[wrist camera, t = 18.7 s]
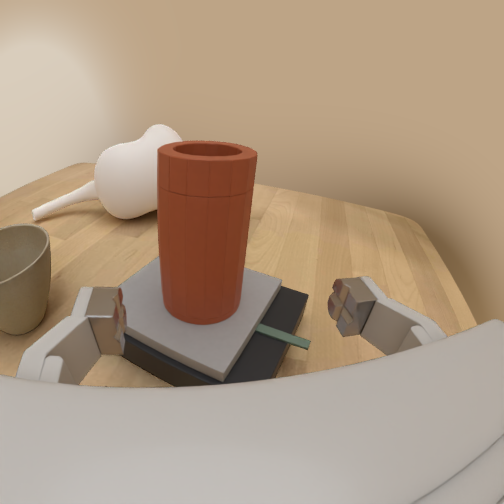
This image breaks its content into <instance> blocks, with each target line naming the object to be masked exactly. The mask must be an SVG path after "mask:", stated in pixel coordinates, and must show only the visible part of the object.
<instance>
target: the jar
mask: <svg viewBox="0 0 504 504" xmlns="http://www.w3.org/2000/svg"><path fill="white" fill-rule="evenodd" d="M256 162H257V152H256V151H254V150H253V149H251V148H249V147H245V146H242V145H238V144H232V143H226V142H214V141H182V142H174V143H169V144H165V145H163V146H161V147H159V148H158V149H157V216H158V243H159V261H160V275H161V288H162V295H163V303H164V306H165V308H166V309H167V311H168V312H169V313H170V314H171V315H172V316H174V317H175V318H177V319H179V320H181V321H184V322H187V323H190V324H197V325H208V324H214V323H218V322H221V321H224V320H226V319H228V318H229V317H231V316H232V315H233V314H234V313H235V312H236V311H237V309H238V307H239V304H240V299H241V291H242V282H243V273H244V264H245V256H246V247H247V239H248V230H249V222H250V213H251V205H252V196H253V187H254V179H255V171H256Z"/></svg>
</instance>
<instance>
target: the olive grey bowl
mask: <svg viewBox="0 0 504 504" xmlns="http://www.w3.org/2000/svg"><path fill="white" fill-rule="evenodd" d="M50 279H51V252H50V241H49V235H48V233H47V231H46V230H45V229H44V228H42V227H40V226H38V225H34V224H15V225H10V226H6V227H2V228H0V330H2V331H4V332H6V333H9V334H12V335H21V334H25V333H28V332H30V331H31V330H33V329H34V328H35V327H37V326H38V325H39V323H40V322H41V321H42V319H43V317H44V314H45V310H46V306H47V302H48V296H49V290H50Z"/></svg>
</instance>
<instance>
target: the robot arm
mask: <svg viewBox="0 0 504 504" xmlns="http://www.w3.org/2000/svg"><path fill="white" fill-rule="evenodd" d="M332 288H333V290H334V292H333V293H332V294H331V295H330V296H329V300H328V311H329V314H330V316H331V318H332V319H334V320H335V321H337V325H336V326H337V328H338V330H339V331H340V333H341V335H342V336H343V337H347V336H354V335H360V336H362V337H363V338H364V339H366V340H367V341H368V342H370V343H371V344H372V345H374V346H375V347H376V348H378V349H379V350H380V351H382V352H383V353H384V354H386V355H387V356H384V357H380V358H376V359H372V360H368V361H364V362H360V363H355V364H351V365H346V366H342V367H337V368H332V369H327V370H322V371H317V372H311V373H306V374H300V375H294V376H287V377H281V378H274V379H266V380H259V381H250V382H241V383H231V384H220V385H206V386H189V387H157V388H133V387H102V386H86V385H79V384H80V382H81V381H82V380H83V378H84V377H85V376H86V375H87V373H88V372H89V371H90V370H91V368H92V367H93V366H94V364H95V363H96V362H97V361H98V359H99V358H100V357H101V355H123V354H124V345H125V338H124V333H125V332H126V328H127V315H126V308H125V306H124V305H123V304H122V300H123V293H122V289H121V288H120V287H81V288H80V290H79V293H78V296H77V298H76V301H75V304H74V307H73V310H72V312H71V315H70V317H69V316H67V317H65V318H64V319H63V320H62V321H60V322H59V323H58V324H57V325H55V326H54V327H53V328H52V329H50V330H49V331H48V332H47V333H46V334H44V335H43V336H42V337H41V338H40V339H38V340H37V341H36V342H35V343H34V344H32V345H31V346H30V347H29V348H28V349H26V350H25V351H24V353H23V356H22V358H21V361H20V364H19V367H18V370H17V373H16V376H15V377H12V376H6V375H1V374H0V504H504V322H502V321H500V320H498V319H493V320H490V321H487V322H485V323H483V324H480V325H478V326H475V327H473V328H470V329H468V330H465V331H462V332H460V333H457V334H454V335H451V336H449V337H447V335H446V334H445V333H444V332H443V331H442V329H441V328H440V327H439V326H438V325H437V323H436V322H435V321H434V320H432V319H430V318H428V317H426V316H424V315H422V314H420V313H418V312H417V311H415V310H413V309H411V308H409V307H407V306H405V305H403V304H401V303H399V302H397V301H395V300H393V299H391V298H390V299H388V298H387V297H386V295H385V294H384V293H383V292H382V291H381V289H380V288H379V287H378V286H377V285H376V284H375V282H374V281H373V280H372V279H371V278H370V277H368V276H363V277H357V278H345V279H336V280H335V282H334V284H333V287H332Z"/></svg>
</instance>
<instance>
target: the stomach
mask: <svg viewBox="0 0 504 504" xmlns="http://www.w3.org/2000/svg"><path fill="white" fill-rule="evenodd" d="M174 142H182V139H181V138H180V136H179V135H178V134H177V133H176V132H175V131H174V130H173V129H171V128H170V127H168V126H166V125H161V124H157V125H154V126H151V127H150V128H149V129H148V130H147V131H146V132H145V134H144V135H143V136H142V137H141V138H140V139H138V140H136V141H134V142H129V143H123V144H117V145H114V146H112V147H110V148H108V149H106V150H105V151H104V152H103V153H102V154H101V155H100V157H99V158H98V160H97V163H96V166H95V172H94V180H93V181H90V182H89V183H87V184H86V185H84V186H82V187H80V188H78V189H77V190H75V191H73V192H71V193H69V194H66V195H64V196H61V197H59V198H57V199H55V200H52V201H50V202H48V203H46V204H44V205H41V206H39V207H37V208H35V209H33V210H32V211H31V212H32V216H33V218H34V220H35V221H37V220H39V219H41V218H43V217H45V216H47V215H50V214H52V213H54V212H56V211H58V210H61V209H63V208H65V207H68V206H70V205H73V204H76V203H80V202H84V201H89V200H98V199H99V200H100V202H101V204H102V205H103V207H104V208H105V209H106V210H107V211H108V212H109V213H110V214H111V215H113V216H114V217H117V218H120V219H132V218H136V217H139V216H141V215H143V214H146V213H148V212H150V211H153V210H157V149H158V148H159V147H161V146H163V145H165V144H169V143H174Z"/></svg>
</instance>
